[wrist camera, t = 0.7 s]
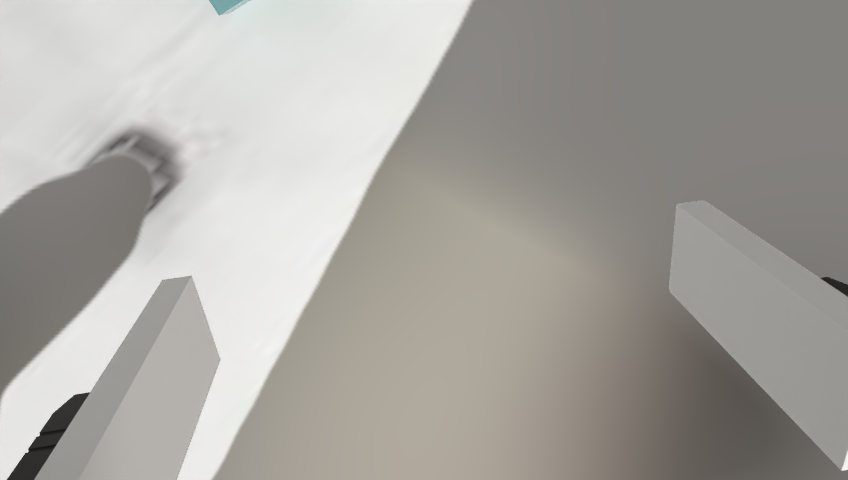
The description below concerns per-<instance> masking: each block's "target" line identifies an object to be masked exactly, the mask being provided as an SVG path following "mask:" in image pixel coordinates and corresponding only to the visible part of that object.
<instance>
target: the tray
mask: <svg viewBox="0 0 848 480" xmlns="http://www.w3.org/2000/svg"><path fill="white" fill-rule="evenodd" d="M209 1H210V2H211V4H212V5H213V7H214V8H215V10H216V11H217V13H218V14H219V15H223V14H227V13H230V12H232V11H234V10H235V9H237V8H238V7H240V6H242V5H243V4H245V3H246V2H248V1H250V0H209Z"/></svg>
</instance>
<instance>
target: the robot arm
mask: <svg viewBox="0 0 848 480" xmlns="http://www.w3.org/2000/svg"><path fill="white" fill-rule="evenodd" d="M671 262H672V263H671V272H670V284H669V291H670V292H671V293H672V294H673V295H674V296H675V297H676V299H677V300H678V301H679V302H680V303H681V304H682V305H683V306H684V307H685V308H686V309H687V310H688V311H689V312H690V313H691V314H692V315H693V316H694V317H695V318H696V319H697V320H698V322H700V323H701V324H702V326H703V327H704V328H705V329H706V330H707V331H708V332H709V333H710V334H711V335H712V336H713V337H714V338H715V339H716V340H717V341H718V342H719V343H720V344H721V345H722V347H723V348H724V349H725V350H726V351H727V352H728V353H729V354H730V355H731V356H732V357H733V358H734V359H735V360H736V361H737V362H738V363H739V364H740V365H741V366H742V367H743V368H744V369H745V371H747V373H748V374H749V375H750V376H751V377H752V378H753V379H754V380H755V381H756V382H757V383H758V384H759V385H760V386H761V387H762V388H763V389H764V390H765V391H766V392H767V393H768V394H769V395H770V397H771V398H772V399H773V400H774V401H775V402H776V403H777V404H778V405H779V406H780V407H781V408H782V409H783V410H784V411H785V412H786V413H787V414H788V415H789V416H790V417H791V418H792V419H793V420H794V422H795V423H796V424H797V425H798V426H799V427H800V428H801V429H802V430H803V431H804V432H805V433H806V434H807V435H808V436H809V437H810V438H811V439H812V440H813V441H814V442H815V443H816V445H817V446H818V447H819V448H820V449H821V450H822V451H823V452H824V453H825V454H826V455H827V456H828V457H829V458H830V459H831V460H832V461H833V462H834V463H835V464H836V465H837V466H838V467H839V468H840V469H841V470H848V285H847V284H844V283H842V282H839V281H836V280H834V279H831V278H829V277H824V278H819V277H817V276H816V275H814V274H813V273H811V272H810V271H808V270H807V269H806V268H804V267H803V266H801V265H800V264H798V263H797V262H795V261H794V260H792V259H791V258H789V257H787V256H786V255H785V254H783V253H782V252H780V251H779V250H777V249H776V248H774V247H773V246H771V245H770V244H768V243H767V242H765V241H764V240H762V239H761V238H759V237H758V236H756V235H755V234H753V233H752V232H750V231H749V230H747V229H746V228H744V227H743V226H741V225H740V224H739V223H737V222H735V221H734V220H732V219H731V218H730V217H728V216H727V215H725V214H724V213H722V212H721V211H719V210H718V209H716V208H715V207H713V206H712V205H710V204H709V203H707V202H706V201H704V200H702V201H695V202H688V203H682V204H677V205H676V217H675V229H674V239H673V250H672V261H671ZM219 362H220V357H219V354H218V351H217V348H216V345H215V342H214V339H213V336H212V334H211V331H210V328H209V325H208V322H207V319H206V316H205V313H204V310H203V307H202V304H201V301H200V298H199V295H198V292H197V290H196V287H195V284H194V281H193V278H192V276H187V277H180V278H173V279H167V280H162V282H161V283H160V285H159V286H158V288H157V289H156V291H155V293H154V294H153V296H152V297H151V299H150V300H149V302H148V303H147V305H146V307H145V308H144V310H143V311H142V313H141V314H140V316H139V317H138V319H137V321H136V322H135V324H134V325H133V327H132V328H131V330H130V331H129V333H128V335H127V336H126V338H125V339H124V341H123V342H122V344H121V345H120V347H119V349H118V350H117V352H116V353H115V355H114V356H113V358H112V359H111V361H110V363H109V364H108V366H107V367H106V369H105V370H104V372H103V373H102V375H101V377H100V378H99V380H98V381H97V383H96V384H95V386H94V387H93V389H92V391H91V392H90V393H83V394H77V395H74V396H73V397H72V398H70V399H69V400H68V401H67V402H66V403H65V404H63V405H62V406H61V407H60V408H59V409H58V410H56V411H55V412H54V413H53V414H52V416H51V417H50V419H49V420H48V422H47V423H46V424H45V426H44V427H43V429H42V430H41V432H40V436H39V437H36V439H35V440H34V442H33V443H32V445H31V446H30V447H29V449H28V450H29V452H28V453H25V455H24V456H23V457H22V459H21V460H20V462H19V463H18V465H17V466H16V467H15V469H14V470H13V472H12V473H11V475H10V476H9V478H8V479H7V480H177V478H178V475H179V472H180V469H181V467H182V464H183V461H184V458H185V456H186V453H187V450H188V447H189V445H190V442H191V439H192V436H193V434H194V431H195V428H196V425H197V423H198V420H199V417H200V414H201V412H202V409H203V406H204V403H205V401H206V398H207V395H208V392H209V389H210V387H211V384H212V381H213V378H214V376H215V373H216V370H217V367H218V365H219Z"/></svg>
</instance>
